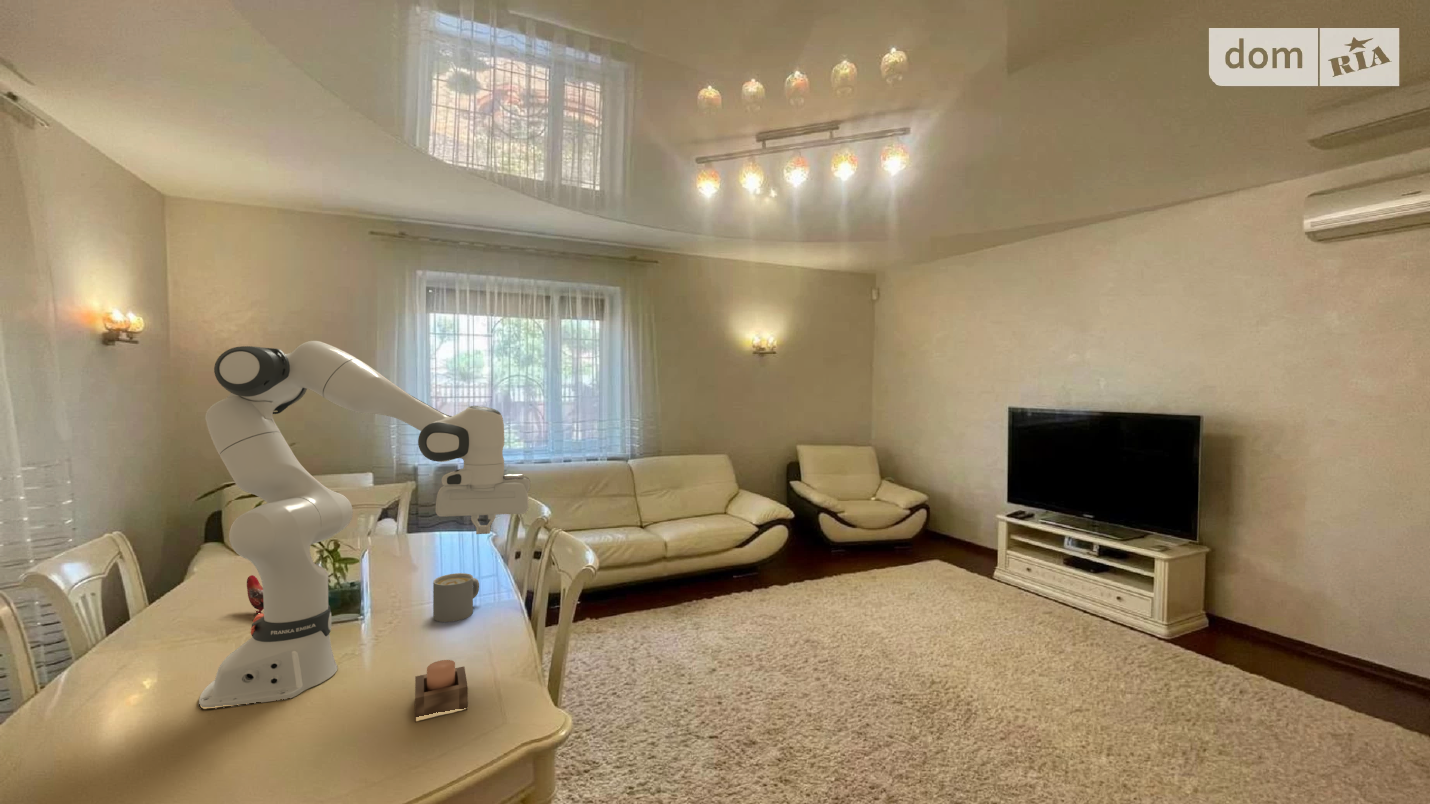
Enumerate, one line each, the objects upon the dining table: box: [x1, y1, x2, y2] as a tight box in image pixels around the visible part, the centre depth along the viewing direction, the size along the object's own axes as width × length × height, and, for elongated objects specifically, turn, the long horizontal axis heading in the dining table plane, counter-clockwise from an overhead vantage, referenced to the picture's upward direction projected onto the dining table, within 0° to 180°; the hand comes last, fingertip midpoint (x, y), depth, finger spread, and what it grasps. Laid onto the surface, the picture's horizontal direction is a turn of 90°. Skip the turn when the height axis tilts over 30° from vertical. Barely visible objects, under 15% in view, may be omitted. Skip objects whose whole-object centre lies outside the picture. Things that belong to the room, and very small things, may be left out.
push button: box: [426, 659, 456, 691], centre depth 109 cm, size 5×5×4 cm
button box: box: [414, 666, 469, 718], centre depth 109 cm, size 9×9×4 cm
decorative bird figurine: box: [246, 574, 264, 614], centre depth 151 cm, size 3×18×10 cm, turn 59°
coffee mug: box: [432, 572, 480, 623], centre depth 154 cm, size 13×10×10 cm
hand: (483, 533), depth 130 cm, fingers closed
